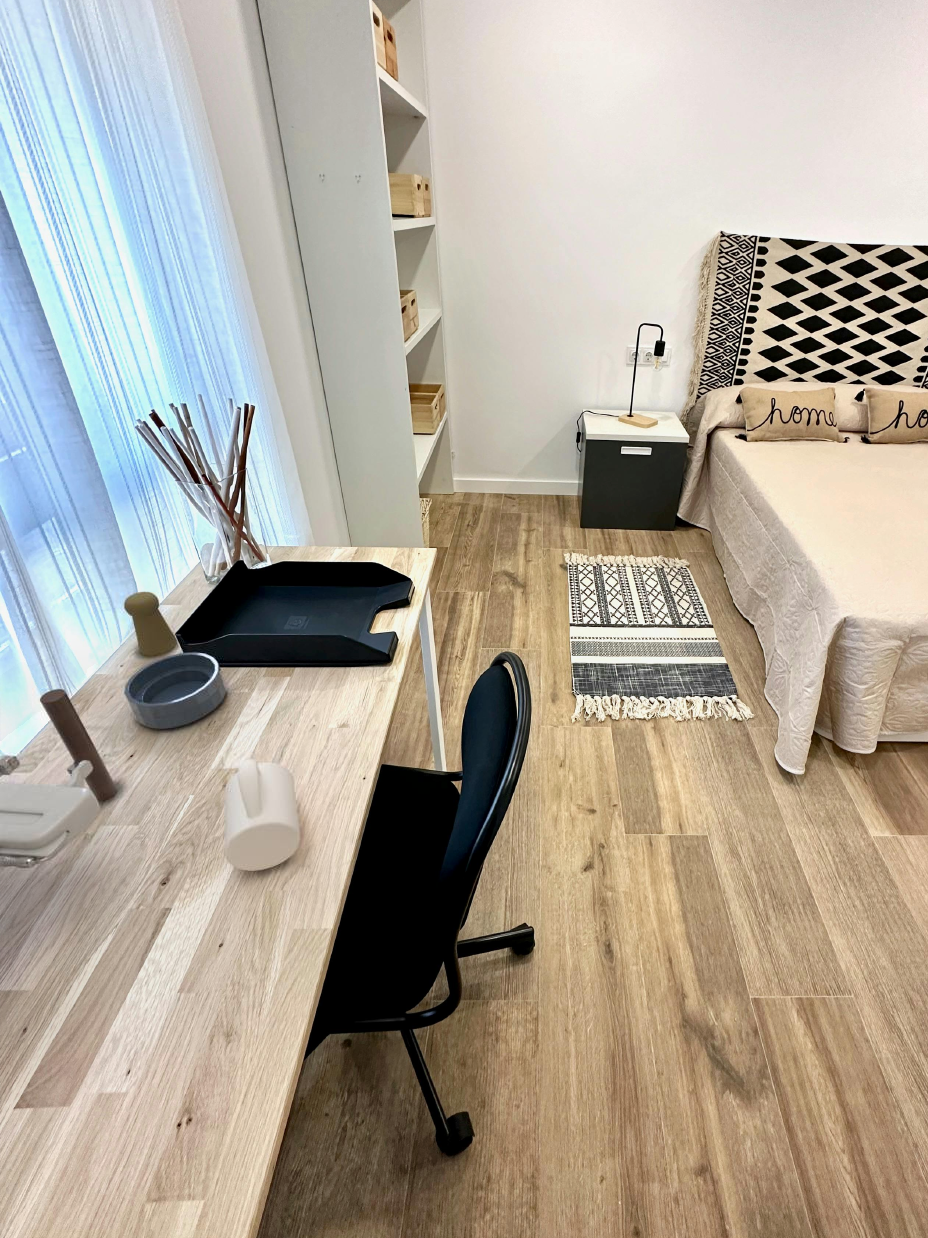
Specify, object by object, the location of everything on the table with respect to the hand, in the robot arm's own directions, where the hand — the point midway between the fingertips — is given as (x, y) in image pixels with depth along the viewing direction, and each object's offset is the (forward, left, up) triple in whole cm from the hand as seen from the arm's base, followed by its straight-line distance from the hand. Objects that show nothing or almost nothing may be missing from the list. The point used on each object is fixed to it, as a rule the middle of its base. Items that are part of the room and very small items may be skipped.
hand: (49, 761), depth 75 cm
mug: (+25, -6, -11) cm, 28 cm away
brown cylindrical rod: (+1, +4, -11) cm, 12 cm away
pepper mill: (-5, +39, -11) cm, 41 cm away
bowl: (+5, +22, -11) cm, 25 cm away
